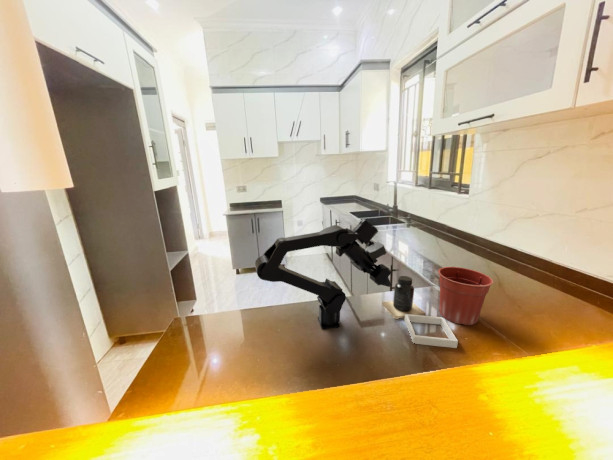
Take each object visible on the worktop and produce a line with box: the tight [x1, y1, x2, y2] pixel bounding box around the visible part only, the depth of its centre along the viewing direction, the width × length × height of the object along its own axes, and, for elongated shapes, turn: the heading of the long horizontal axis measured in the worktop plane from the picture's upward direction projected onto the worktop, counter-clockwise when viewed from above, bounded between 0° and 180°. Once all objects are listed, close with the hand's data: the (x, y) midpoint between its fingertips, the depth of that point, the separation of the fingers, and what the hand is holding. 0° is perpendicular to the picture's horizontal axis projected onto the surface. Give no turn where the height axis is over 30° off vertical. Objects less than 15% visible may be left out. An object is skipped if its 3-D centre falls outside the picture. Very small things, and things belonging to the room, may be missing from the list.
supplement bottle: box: [392, 275, 415, 312], centre depth 94 cm, size 7×7×12 cm
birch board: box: [381, 300, 426, 320], centre depth 96 cm, size 12×10×1 cm
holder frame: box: [403, 314, 459, 349], centre depth 82 cm, size 13×13×2 cm
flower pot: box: [437, 266, 494, 326], centre depth 90 cm, size 16×16×16 cm
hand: (382, 280), depth 90 cm, fingers open, 9 cm apart
